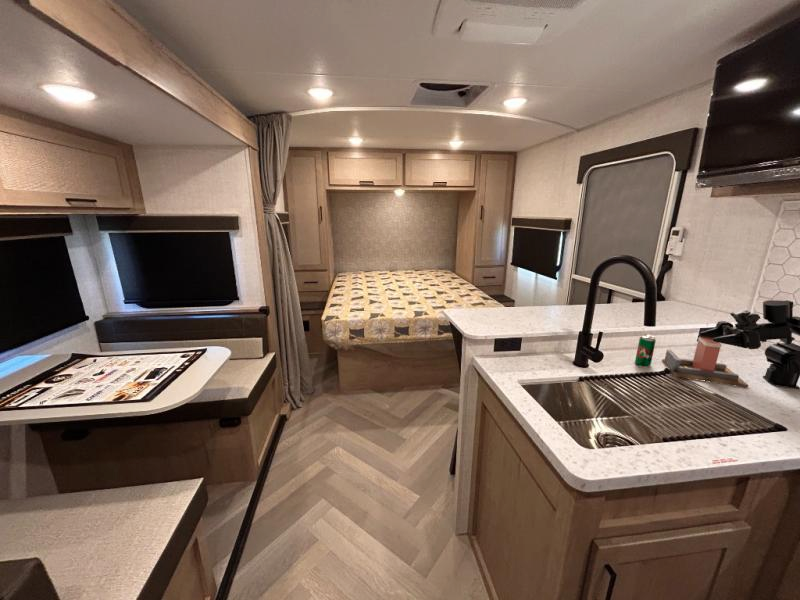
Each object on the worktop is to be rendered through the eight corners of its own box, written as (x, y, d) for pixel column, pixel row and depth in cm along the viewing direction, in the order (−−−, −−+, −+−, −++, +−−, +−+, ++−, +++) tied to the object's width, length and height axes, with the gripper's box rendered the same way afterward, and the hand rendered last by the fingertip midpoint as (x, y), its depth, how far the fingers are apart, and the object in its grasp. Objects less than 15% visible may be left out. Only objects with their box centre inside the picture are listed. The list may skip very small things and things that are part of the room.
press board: (726, 369, 120) (727, 367, 120) (747, 387, 108) (748, 385, 108) (662, 361, 128) (662, 358, 128) (675, 377, 116) (675, 374, 115)
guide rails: (723, 368, 119) (726, 356, 118) (737, 381, 110) (741, 368, 109) (664, 361, 126) (666, 349, 125) (673, 372, 117) (676, 359, 116)
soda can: (645, 361, 128) (650, 334, 125) (653, 367, 123) (659, 339, 120) (631, 361, 128) (637, 333, 125) (639, 366, 124) (645, 338, 120)
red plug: (705, 367, 119) (713, 338, 116) (713, 374, 114) (721, 344, 111) (691, 365, 121) (698, 336, 118) (698, 372, 116) (706, 342, 112)
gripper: (744, 305, 116) (690, 311, 122) (781, 313, 99) (716, 319, 105) (748, 334, 116) (695, 339, 122) (786, 347, 99) (721, 352, 105)
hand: (706, 337), depth 114 cm, fingers open, 9 cm apart
